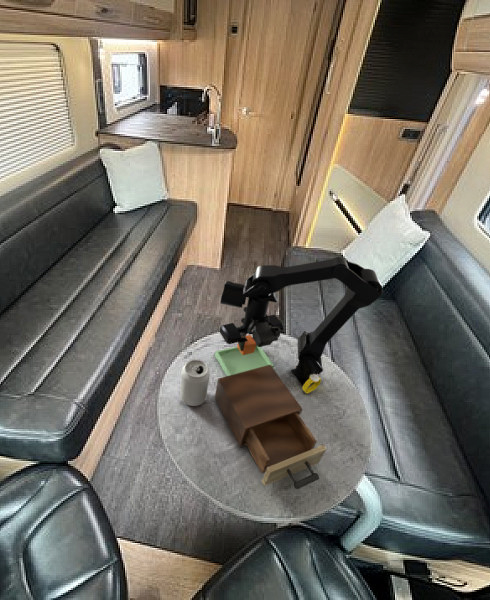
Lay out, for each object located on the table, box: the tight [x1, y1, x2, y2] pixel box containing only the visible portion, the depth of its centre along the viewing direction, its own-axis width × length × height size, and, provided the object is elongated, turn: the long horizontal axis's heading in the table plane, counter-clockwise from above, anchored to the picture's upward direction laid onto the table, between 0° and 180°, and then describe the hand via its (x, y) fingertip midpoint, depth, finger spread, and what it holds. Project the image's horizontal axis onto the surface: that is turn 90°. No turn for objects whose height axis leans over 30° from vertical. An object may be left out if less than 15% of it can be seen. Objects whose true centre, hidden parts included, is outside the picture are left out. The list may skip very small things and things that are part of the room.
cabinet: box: [214, 365, 303, 448], centre depth 86 cm, size 16×17×8 cm
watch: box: [302, 374, 322, 394], centre depth 95 cm, size 6×3×6 cm, turn 120°
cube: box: [236, 334, 256, 355], centre depth 99 cm, size 4×4×4 cm
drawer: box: [244, 413, 327, 490], centre depth 77 cm, size 19×15×6 cm
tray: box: [214, 345, 275, 376], centre depth 102 cm, size 15×11×2 cm
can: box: [179, 358, 211, 407], centre depth 87 cm, size 8×8×12 cm
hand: (247, 348), depth 99 cm, fingers closed on cube, 4 cm apart
